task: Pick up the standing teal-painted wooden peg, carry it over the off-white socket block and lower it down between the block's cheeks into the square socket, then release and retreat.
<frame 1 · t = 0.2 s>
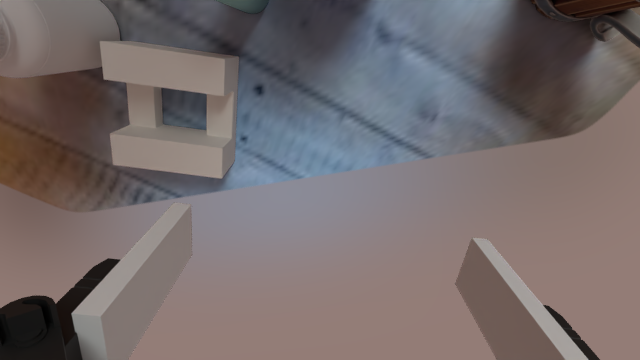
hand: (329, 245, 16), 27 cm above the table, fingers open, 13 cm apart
pill bottle: (88, 31, 37), on the table
socket: (187, 105, 40), on the table
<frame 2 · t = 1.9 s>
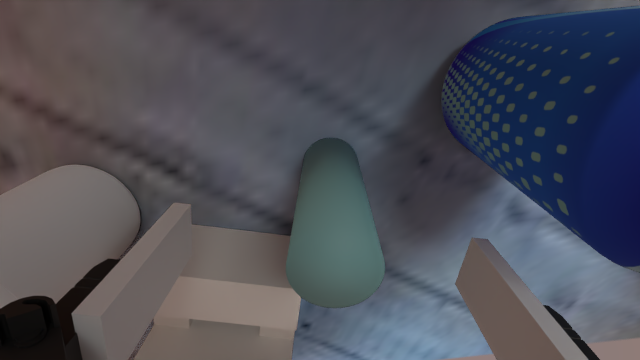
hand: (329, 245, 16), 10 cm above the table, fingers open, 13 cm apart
pill bottle: (95, 207, 26), on the table
beer can: (497, 87, 22), on the table
peg: (330, 164, 24), on the table
socket: (231, 290, 29), on the table
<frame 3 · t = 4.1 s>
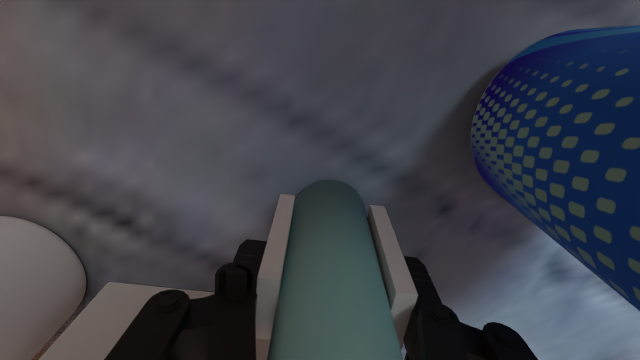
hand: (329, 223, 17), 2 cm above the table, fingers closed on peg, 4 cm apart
pill bottle: (29, 266, 21), on the table
beer can: (539, 118, 17), on the table
peg: (328, 213, 19), point 1 cm above the table, touching gripper
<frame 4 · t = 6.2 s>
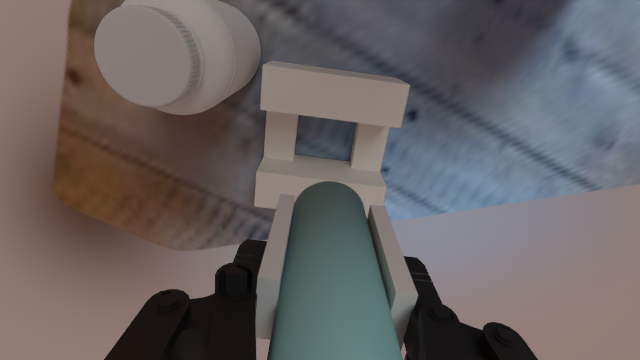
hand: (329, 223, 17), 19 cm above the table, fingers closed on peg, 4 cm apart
pill bottle: (221, 49, 32), on the table
peg: (328, 214, 18), point 17 cm above the table, touching gripper
socket: (325, 132, 35), on the table
when the fingers open (4 cm above the table, at t = 8.9 s): peg drops 3 cm, resting in socket.
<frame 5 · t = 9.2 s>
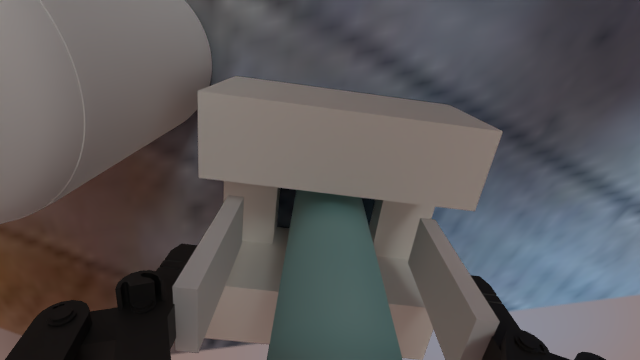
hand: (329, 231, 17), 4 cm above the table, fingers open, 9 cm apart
pill bottle: (144, 56, 18), on the table
peg: (327, 194, 21), resting in socket
socket: (327, 194, 21), on the table
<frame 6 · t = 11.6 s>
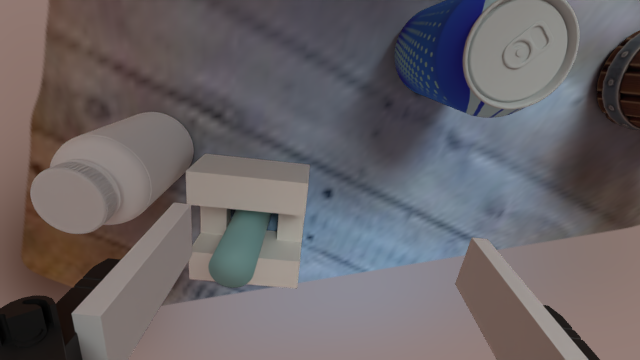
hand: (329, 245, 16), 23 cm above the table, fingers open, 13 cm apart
pill bottle: (161, 145, 38), on the table
beer can: (431, 52, 34), on the table
peg: (255, 209, 40), resting in socket
socket: (255, 209, 40), on the table
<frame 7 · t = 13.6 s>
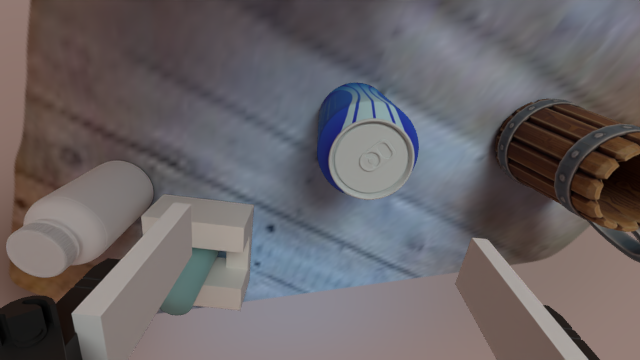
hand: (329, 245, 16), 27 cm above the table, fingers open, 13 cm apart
pill bottle: (126, 186, 44), on the table
beer can: (353, 117, 40), on the table
mug: (541, 156, 42), on the table
peg: (209, 239, 47), resting in socket
socket: (209, 239, 47), on the table
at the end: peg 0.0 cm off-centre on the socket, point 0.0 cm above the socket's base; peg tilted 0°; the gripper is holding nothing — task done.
